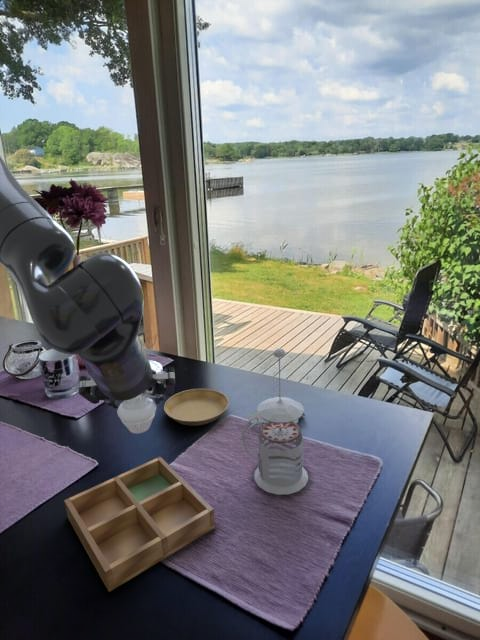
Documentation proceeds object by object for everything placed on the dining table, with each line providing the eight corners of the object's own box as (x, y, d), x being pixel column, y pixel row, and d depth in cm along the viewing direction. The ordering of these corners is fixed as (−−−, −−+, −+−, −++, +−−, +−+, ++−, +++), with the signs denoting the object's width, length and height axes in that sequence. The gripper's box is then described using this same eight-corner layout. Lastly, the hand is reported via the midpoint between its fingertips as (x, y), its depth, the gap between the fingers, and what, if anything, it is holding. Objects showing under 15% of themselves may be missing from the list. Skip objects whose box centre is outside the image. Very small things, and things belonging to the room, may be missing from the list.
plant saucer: (187, 393, 111) (186, 383, 110) (240, 404, 104) (239, 394, 104) (151, 423, 98) (150, 412, 97) (209, 437, 92) (208, 427, 91)
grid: (109, 592, 59) (105, 572, 58) (67, 518, 72) (63, 500, 71) (215, 527, 69) (214, 509, 68) (162, 472, 82) (160, 456, 81)
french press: (315, 490, 76) (318, 357, 68) (249, 500, 74) (244, 365, 66) (299, 455, 85) (299, 335, 77) (240, 464, 83) (234, 341, 75)
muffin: (158, 416, 76) (154, 379, 73) (158, 436, 70) (153, 396, 68) (121, 420, 75) (116, 383, 72) (118, 441, 69) (112, 401, 67)
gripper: (172, 332, 60) (179, 374, 75) (63, 342, 58) (92, 382, 73) (176, 385, 57) (182, 417, 72) (60, 397, 55) (91, 427, 70)
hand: (137, 400), depth 72 cm, fingers closed on muffin, 6 cm apart
